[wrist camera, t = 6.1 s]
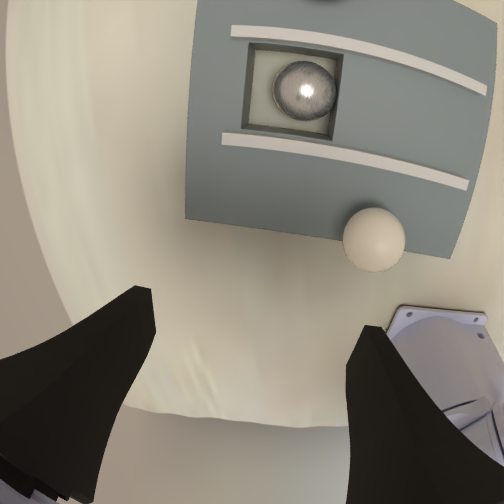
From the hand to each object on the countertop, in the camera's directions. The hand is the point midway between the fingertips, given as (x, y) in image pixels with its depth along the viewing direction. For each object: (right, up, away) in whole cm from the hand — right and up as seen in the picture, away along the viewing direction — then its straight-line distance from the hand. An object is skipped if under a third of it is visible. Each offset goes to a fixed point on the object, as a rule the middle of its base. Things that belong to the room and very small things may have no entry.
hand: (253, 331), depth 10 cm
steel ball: (+3, +11, +4) cm, 12 cm away
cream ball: (+6, +3, +4) cm, 8 cm away
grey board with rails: (+5, +11, +5) cm, 13 cm away
